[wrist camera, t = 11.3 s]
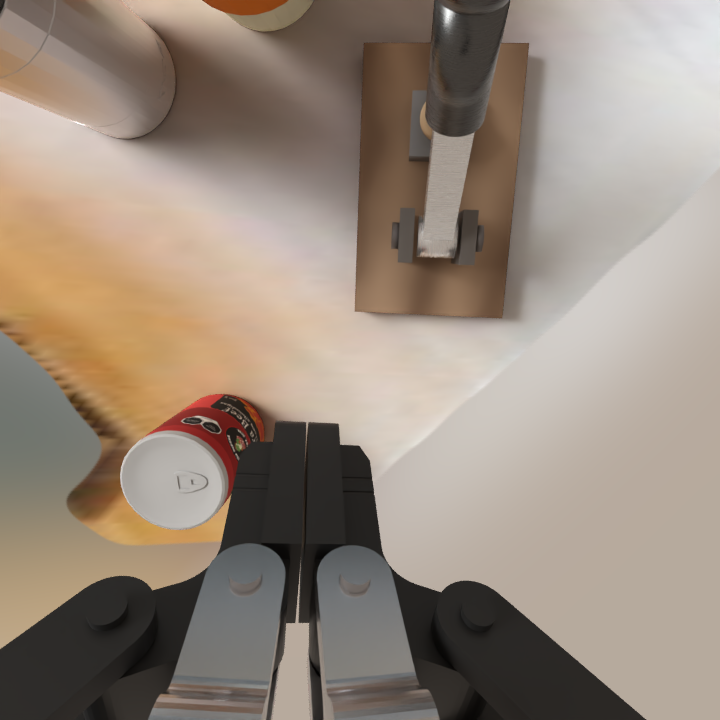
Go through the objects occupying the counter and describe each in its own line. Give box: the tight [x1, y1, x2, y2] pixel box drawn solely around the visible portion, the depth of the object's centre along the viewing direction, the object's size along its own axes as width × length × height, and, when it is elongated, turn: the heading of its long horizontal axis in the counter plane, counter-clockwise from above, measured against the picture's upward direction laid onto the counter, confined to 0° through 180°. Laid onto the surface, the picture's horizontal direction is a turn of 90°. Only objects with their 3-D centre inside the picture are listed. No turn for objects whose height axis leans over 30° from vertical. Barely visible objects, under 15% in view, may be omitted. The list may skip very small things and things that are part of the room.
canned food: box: [120, 394, 264, 530], centre depth 41 cm, size 8×8×11 cm
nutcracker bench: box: [355, 43, 529, 318], centre depth 36 cm, size 12×20×8 cm, turn 178°
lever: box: [416, 0, 510, 258], centre depth 26 cm, size 4×4×20 cm
